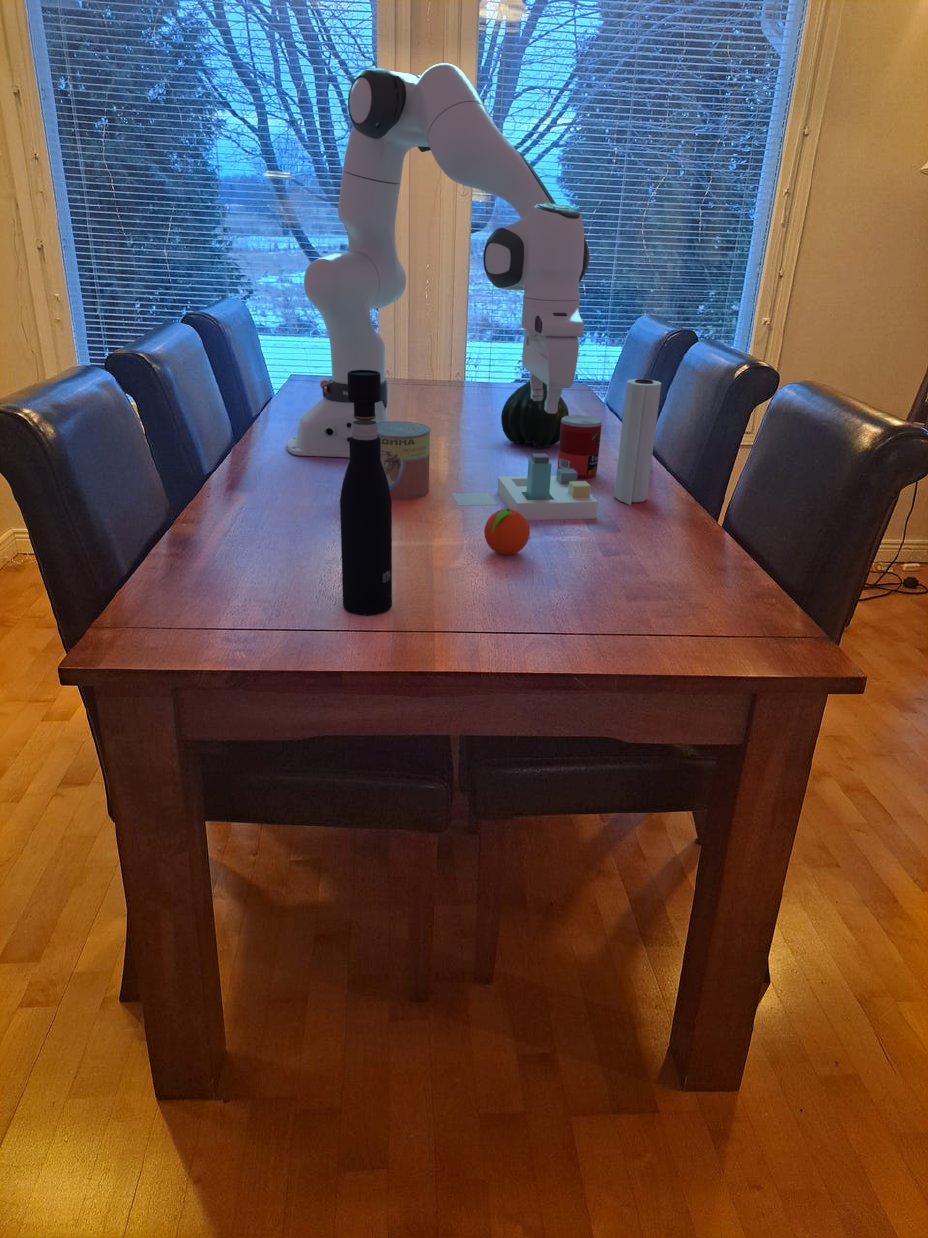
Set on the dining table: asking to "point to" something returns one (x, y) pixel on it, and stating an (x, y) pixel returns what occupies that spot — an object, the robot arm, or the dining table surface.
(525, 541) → the clementine
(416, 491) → the canned food
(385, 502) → the insulated water bottle
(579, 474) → the canned food
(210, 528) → the dining table surface
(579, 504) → the block
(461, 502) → the mat
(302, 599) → the dining table surface
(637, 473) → the paper towel roll
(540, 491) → the plug
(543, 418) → the squash
